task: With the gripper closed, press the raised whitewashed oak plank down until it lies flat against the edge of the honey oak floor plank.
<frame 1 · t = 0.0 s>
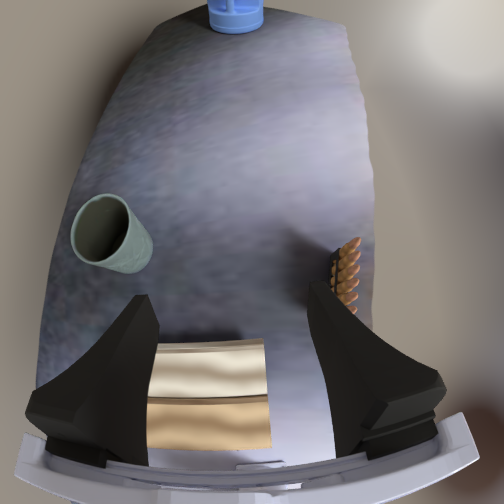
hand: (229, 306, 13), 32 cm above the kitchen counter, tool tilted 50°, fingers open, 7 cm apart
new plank: (189, 371, 39), point 3 cm above the kitchen counter, hinge at 28.0°
water jug: (236, 24, 66), on the kitchen counter
green cup: (131, 251, 47), on the kitchen counter
laid plank: (199, 423, 39), on the kitchen counter
ammunition clip: (333, 288, 45), on the kitchen counter
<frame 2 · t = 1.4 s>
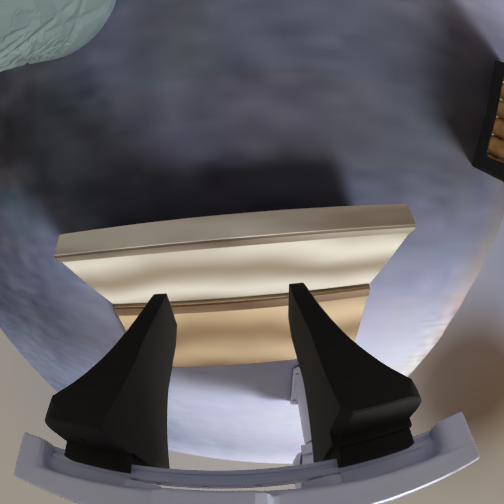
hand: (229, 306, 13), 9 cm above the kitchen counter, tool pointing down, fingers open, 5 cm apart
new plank: (233, 264, 19), point 3 cm above the kitchen counter, hinge at 28.0°
green cup: (67, 9, 11), on the kitchen counter
laid plank: (243, 324, 27), on the kitchen counter
ammunition clip: (490, 115, 16), on the kitchen counter
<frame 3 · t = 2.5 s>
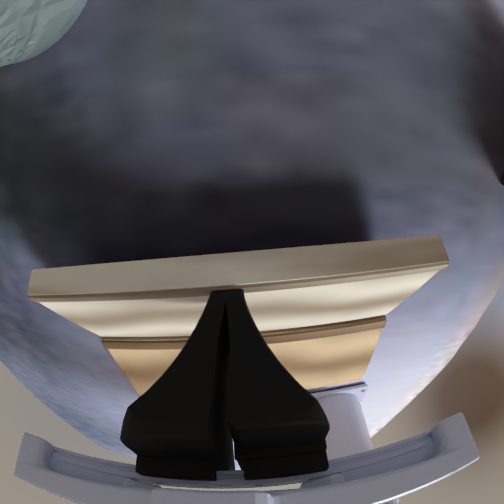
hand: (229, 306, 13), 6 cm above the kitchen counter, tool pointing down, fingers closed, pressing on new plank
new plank: (234, 303, 16), point 3 cm above the kitchen counter, hinge at 28.0°, touching gripper
green cup: (39, 2, 8), on the kitchen counter
laid plank: (245, 356, 24), on the kitchen counter
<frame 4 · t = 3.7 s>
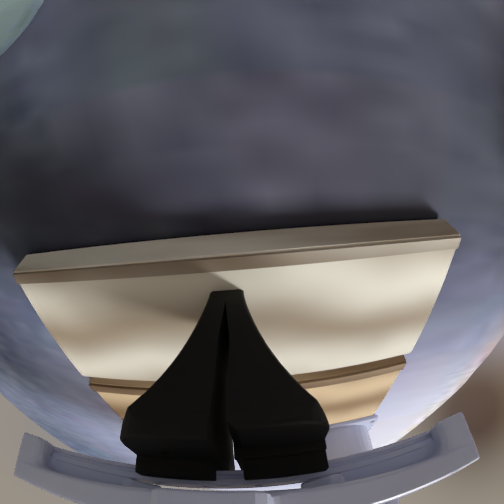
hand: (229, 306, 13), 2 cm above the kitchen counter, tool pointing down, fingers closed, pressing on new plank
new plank: (234, 321, 14), point 1 cm above the kitchen counter, hinge at 0.9°, touching gripper
laid plank: (248, 397, 20), on the kitchen counter
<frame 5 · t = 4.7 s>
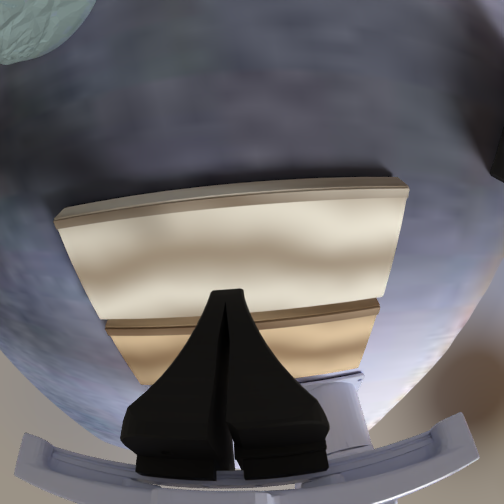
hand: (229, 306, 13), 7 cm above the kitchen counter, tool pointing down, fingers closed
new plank: (231, 256, 18), point 1 cm above the kitchen counter, hinge at 0.8°
green cup: (48, 3, 9), on the kitchen counter
laid plank: (243, 343, 25), on the kitchen counter
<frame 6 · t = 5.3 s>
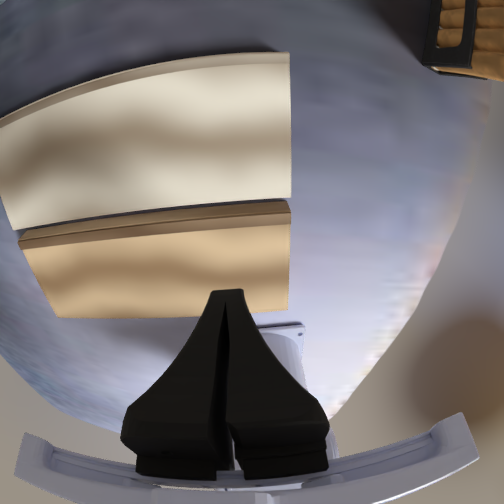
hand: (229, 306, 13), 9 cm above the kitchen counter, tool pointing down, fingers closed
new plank: (111, 145, 16), point 1 cm above the kitchen counter, hinge at 0.8°
laid plank: (146, 265, 22), on the kitchen counter
ammunition clip: (438, 12, 12), on the kitchen counter
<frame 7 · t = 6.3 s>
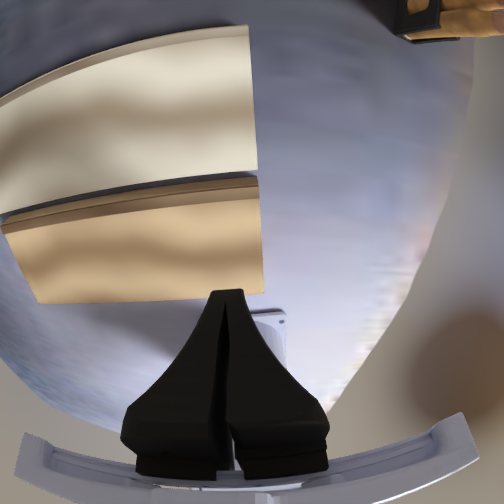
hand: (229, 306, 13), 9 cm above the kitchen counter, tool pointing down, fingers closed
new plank: (82, 126, 15), point 1 cm above the kitchen counter, hinge at 0.8°
laid plank: (121, 247, 22), on the kitchen counter
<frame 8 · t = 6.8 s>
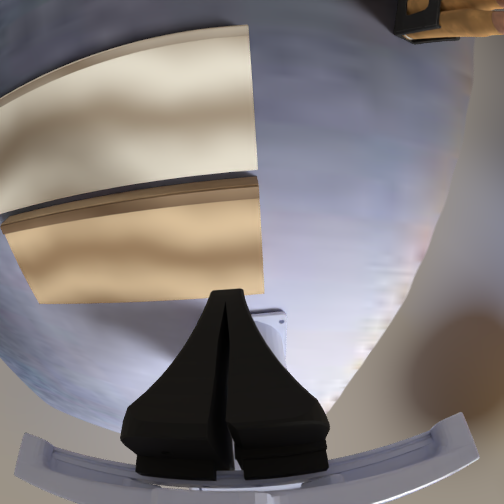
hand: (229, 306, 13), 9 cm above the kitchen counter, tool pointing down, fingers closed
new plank: (82, 126, 15), point 1 cm above the kitchen counter, hinge at 0.8°
laid plank: (121, 247, 22), on the kitchen counter
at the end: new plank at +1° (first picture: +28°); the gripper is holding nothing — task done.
